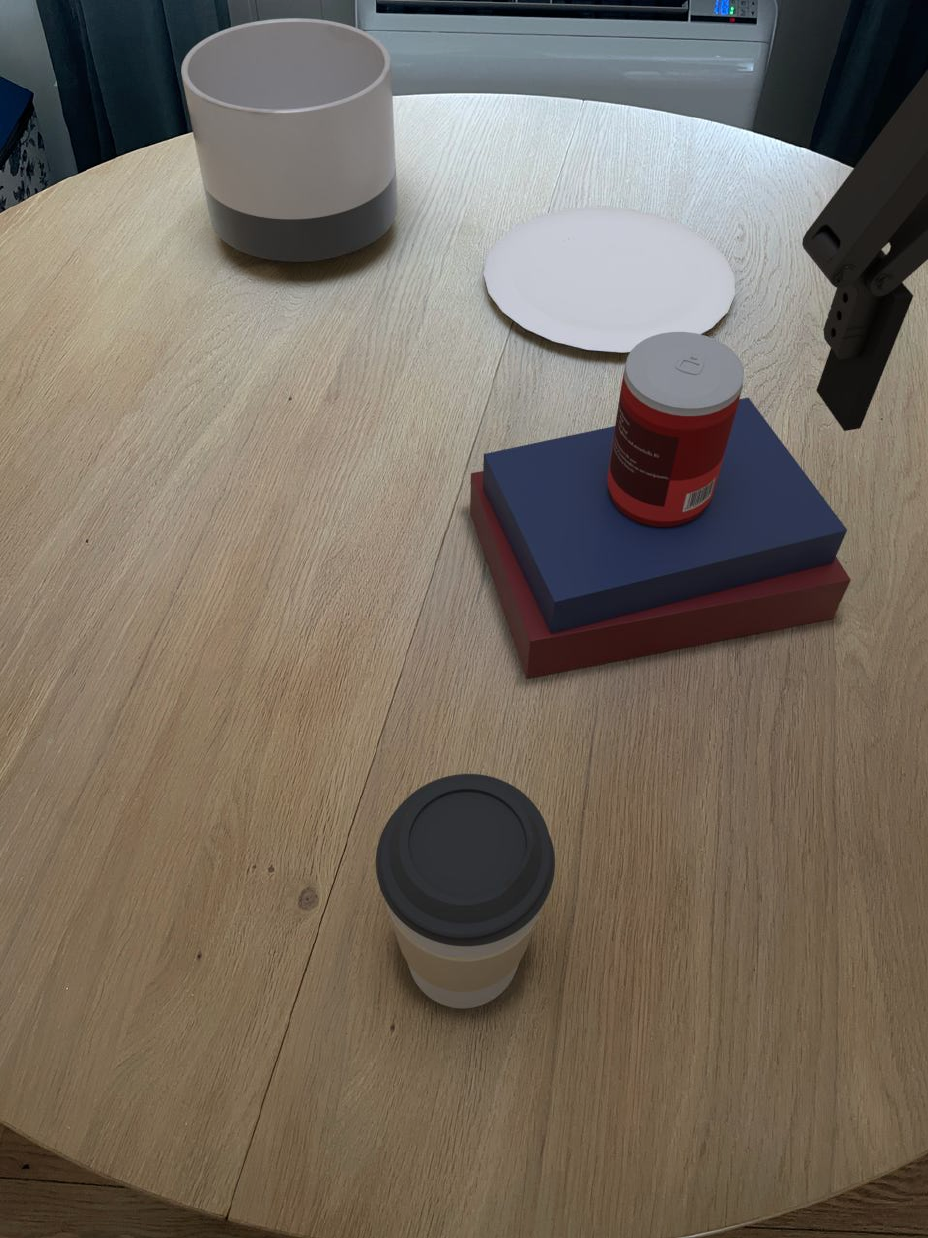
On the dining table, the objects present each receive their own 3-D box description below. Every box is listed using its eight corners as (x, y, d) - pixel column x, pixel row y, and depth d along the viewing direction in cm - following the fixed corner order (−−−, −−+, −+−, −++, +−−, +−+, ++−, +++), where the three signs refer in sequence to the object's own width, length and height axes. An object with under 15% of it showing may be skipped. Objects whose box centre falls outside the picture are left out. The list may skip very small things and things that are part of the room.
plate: (785, 314, 102) (789, 299, 101) (574, 397, 94) (576, 382, 93) (633, 196, 115) (635, 181, 114) (437, 260, 107) (437, 245, 106)
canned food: (716, 462, 77) (748, 338, 68) (707, 539, 72) (741, 416, 64) (613, 446, 78) (633, 322, 70) (598, 521, 73) (617, 398, 65)
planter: (185, 219, 112) (147, 46, 98) (343, 170, 118) (329, 1, 104) (265, 310, 102) (235, 131, 88) (433, 251, 108) (430, 76, 94)
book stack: (833, 618, 78) (866, 547, 72) (526, 679, 75) (533, 609, 68) (743, 466, 88) (765, 392, 82) (469, 512, 85) (471, 438, 79)
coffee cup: (360, 985, 61) (338, 877, 49) (429, 856, 66) (424, 730, 54) (501, 1055, 58) (513, 958, 47) (561, 916, 64) (586, 797, 52)
